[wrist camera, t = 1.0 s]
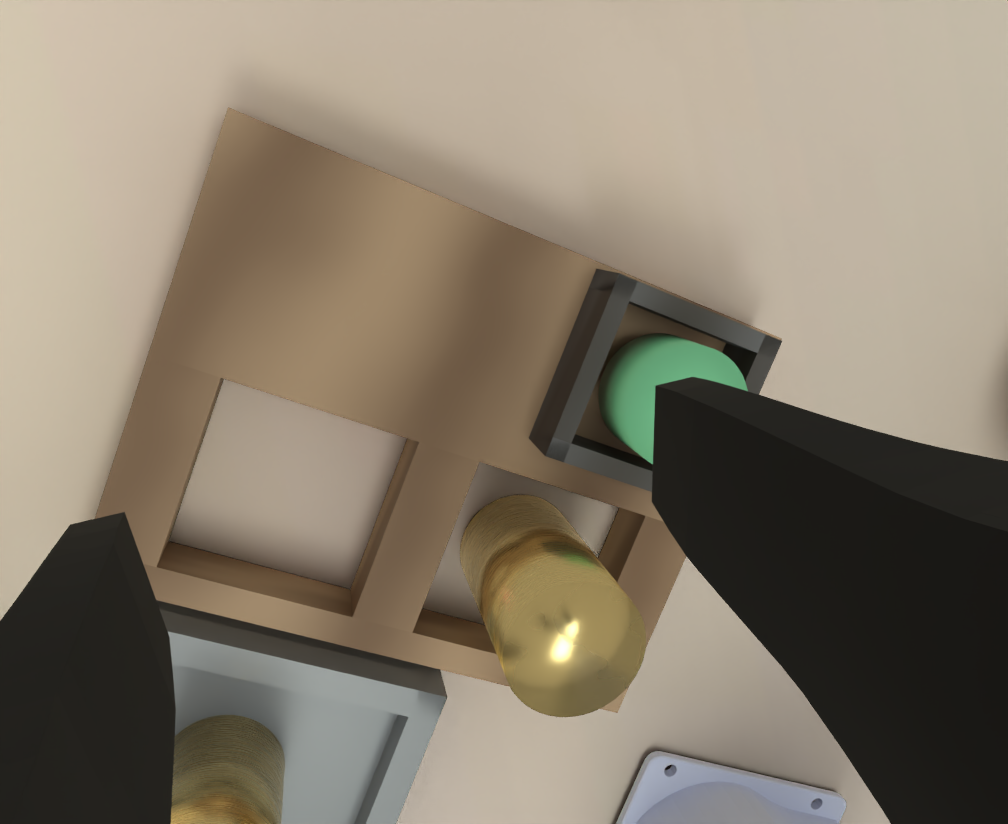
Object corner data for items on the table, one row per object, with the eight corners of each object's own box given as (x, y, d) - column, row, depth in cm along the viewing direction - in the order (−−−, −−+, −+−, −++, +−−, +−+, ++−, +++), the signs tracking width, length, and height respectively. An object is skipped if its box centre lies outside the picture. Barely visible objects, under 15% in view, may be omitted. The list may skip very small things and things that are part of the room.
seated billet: (588, 513, 29) (668, 602, 22) (546, 614, 30) (612, 730, 23) (485, 480, 28) (536, 564, 21) (443, 585, 28) (480, 699, 22)
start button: (728, 356, 25) (769, 371, 23) (682, 463, 26) (717, 488, 23) (626, 316, 24) (658, 326, 22) (580, 428, 25) (606, 450, 22)
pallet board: (751, 330, 29) (817, 348, 25) (598, 681, 31) (638, 748, 27) (235, 115, 24) (219, 97, 20) (93, 552, 26) (53, 612, 22)
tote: (439, 669, 29) (447, 697, 27) (344, 905, 31) (346, 946, 29) (83, 581, 26) (67, 607, 24) (-5, 851, 27) (-26, 894, 26)
